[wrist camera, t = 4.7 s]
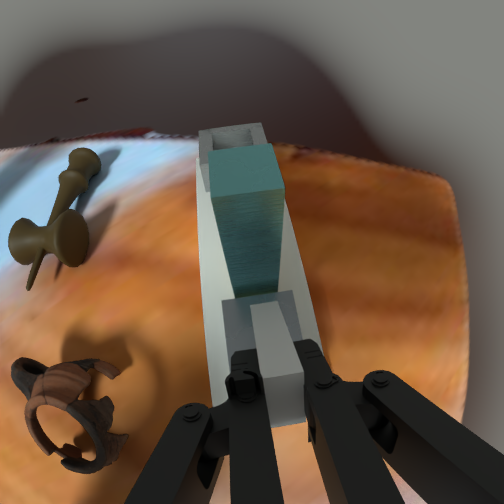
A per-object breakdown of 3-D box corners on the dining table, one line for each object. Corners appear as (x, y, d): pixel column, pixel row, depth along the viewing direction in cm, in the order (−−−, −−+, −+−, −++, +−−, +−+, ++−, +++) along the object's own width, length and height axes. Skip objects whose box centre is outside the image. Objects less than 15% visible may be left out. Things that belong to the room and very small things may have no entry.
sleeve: (307, 404, 20) (315, 402, 16) (240, 415, 20) (235, 415, 16) (288, 308, 24) (292, 289, 21) (227, 317, 24) (221, 300, 20)
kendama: (122, 169, 37) (74, 306, 26) (70, 178, 37) (19, 300, 26) (107, 135, 32) (39, 277, 21) (53, 149, 32) (-13, 275, 21)
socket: (271, 183, 31) (271, 155, 28) (205, 192, 31) (199, 164, 27) (261, 149, 34) (261, 122, 31) (204, 157, 34) (198, 130, 31)
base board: (331, 405, 20) (333, 404, 19) (217, 423, 20) (215, 423, 19) (270, 154, 35) (270, 148, 34) (197, 164, 35) (196, 158, 34)
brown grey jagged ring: (154, 374, 23) (123, 420, 15) (135, 448, 22) (110, 500, 14) (44, 320, 22) (-12, 338, 14) (36, 397, 22) (-7, 428, 14)
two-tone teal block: (294, 400, 20) (333, 381, 8) (251, 407, 20) (231, 398, 8) (265, 242, 27) (262, 115, 16) (229, 247, 27) (206, 122, 15)
